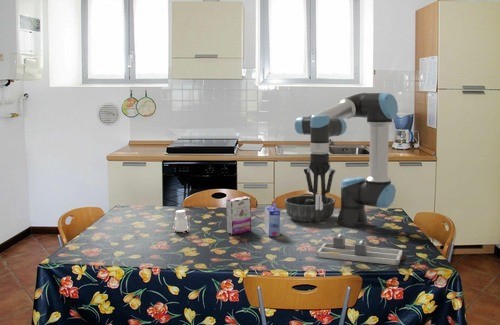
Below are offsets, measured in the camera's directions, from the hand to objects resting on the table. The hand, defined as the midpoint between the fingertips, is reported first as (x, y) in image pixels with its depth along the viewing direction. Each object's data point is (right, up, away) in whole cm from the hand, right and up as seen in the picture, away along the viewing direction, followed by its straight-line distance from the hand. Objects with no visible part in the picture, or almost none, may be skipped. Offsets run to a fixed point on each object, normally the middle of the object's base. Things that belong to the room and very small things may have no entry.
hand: (319, 209), depth 235 cm
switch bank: (+15, -19, -7) cm, 26 cm away
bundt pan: (+2, -10, +59) cm, 60 cm away
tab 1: (+8, -17, 0) cm, 19 cm away
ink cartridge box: (-18, -14, +31) cm, 39 cm away
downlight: (-62, -14, +38) cm, 74 cm away
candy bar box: (-34, -14, +35) cm, 51 cm away
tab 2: (+15, -19, -10) cm, 26 cm away
